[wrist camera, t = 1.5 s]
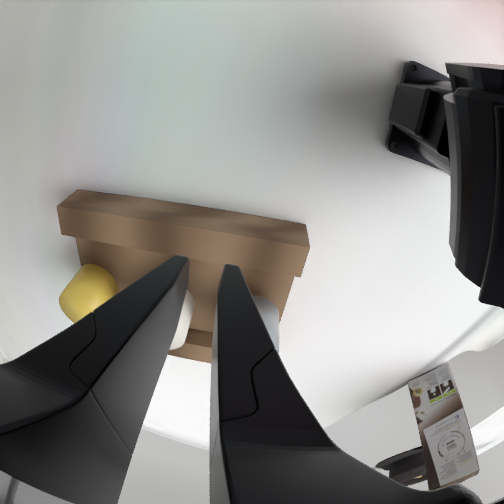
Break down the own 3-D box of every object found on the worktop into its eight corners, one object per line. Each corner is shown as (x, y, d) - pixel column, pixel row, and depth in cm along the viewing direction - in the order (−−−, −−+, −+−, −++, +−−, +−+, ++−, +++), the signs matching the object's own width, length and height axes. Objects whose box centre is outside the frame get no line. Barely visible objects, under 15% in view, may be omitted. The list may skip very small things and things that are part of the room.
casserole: (358, 464, 55) (360, 492, 48) (416, 436, 46) (422, 470, 39) (414, 462, 60) (417, 485, 53) (464, 436, 51) (470, 461, 44)
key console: (305, 224, 21) (309, 247, 18) (267, 349, 29) (266, 373, 26) (77, 189, 20) (56, 206, 18) (100, 314, 28) (89, 335, 26)
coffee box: (405, 382, 32) (427, 492, 19) (448, 360, 30) (481, 470, 16) (417, 402, 36) (435, 493, 23) (454, 385, 33) (478, 475, 20)
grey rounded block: (284, 300, 22) (285, 335, 19) (273, 334, 24) (272, 368, 21) (230, 291, 21) (223, 326, 19) (224, 327, 24) (218, 360, 21)
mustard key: (115, 269, 21) (96, 298, 18) (121, 305, 23) (106, 335, 21) (74, 260, 21) (53, 286, 18) (83, 295, 23) (66, 322, 20)
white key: (196, 285, 21) (185, 318, 18) (194, 321, 24) (185, 354, 21) (144, 275, 21) (128, 306, 18) (148, 312, 23) (135, 342, 21)
